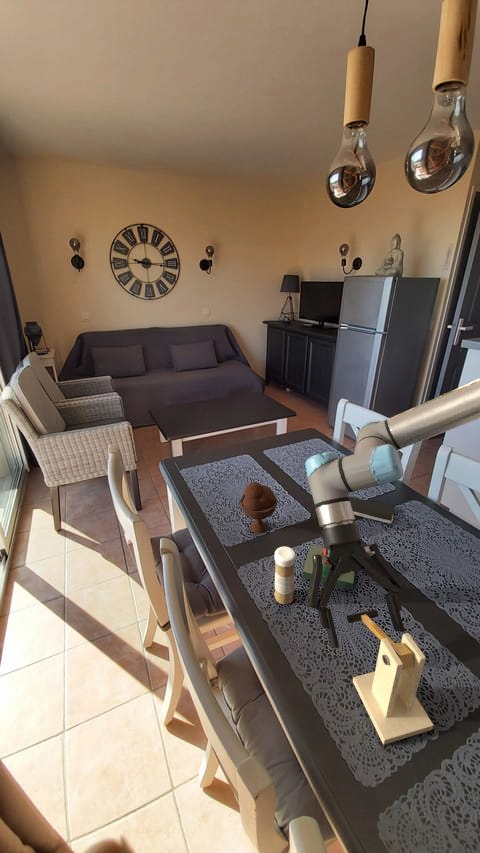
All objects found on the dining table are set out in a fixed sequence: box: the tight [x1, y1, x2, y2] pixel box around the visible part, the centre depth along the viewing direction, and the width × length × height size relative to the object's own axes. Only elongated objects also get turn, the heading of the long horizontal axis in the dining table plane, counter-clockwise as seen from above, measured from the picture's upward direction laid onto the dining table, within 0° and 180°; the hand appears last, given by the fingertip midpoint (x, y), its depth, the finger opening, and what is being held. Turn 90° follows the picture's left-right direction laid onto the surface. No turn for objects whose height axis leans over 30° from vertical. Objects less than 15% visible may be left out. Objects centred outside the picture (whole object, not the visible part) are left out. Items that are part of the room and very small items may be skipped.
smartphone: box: [349, 496, 395, 524], centre depth 113 cm, size 8×1×15 cm
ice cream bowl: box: [239, 481, 279, 534], centre depth 105 cm, size 11×11×15 cm
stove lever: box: [346, 609, 414, 670], centre depth 64 cm, size 14×6×2 cm, turn 11°
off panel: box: [302, 544, 356, 591], centre depth 91 cm, size 12×10×4 cm
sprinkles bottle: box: [274, 546, 297, 605], centre depth 82 cm, size 5×5×14 cm
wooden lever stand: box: [352, 632, 434, 746], centre depth 60 cm, size 10×9×15 cm
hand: (367, 638), depth 69 cm, fingers open, 13 cm apart
